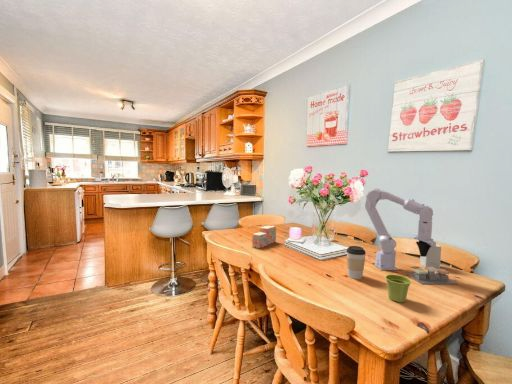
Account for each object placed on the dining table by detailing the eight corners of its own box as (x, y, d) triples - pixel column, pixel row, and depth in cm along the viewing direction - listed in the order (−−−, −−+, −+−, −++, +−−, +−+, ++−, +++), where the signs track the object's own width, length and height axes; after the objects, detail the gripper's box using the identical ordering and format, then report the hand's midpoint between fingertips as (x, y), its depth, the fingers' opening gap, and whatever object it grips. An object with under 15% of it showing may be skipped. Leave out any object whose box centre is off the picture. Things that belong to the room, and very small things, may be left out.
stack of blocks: (259, 248, 173) (259, 231, 172) (252, 247, 176) (252, 229, 175) (275, 242, 190) (276, 225, 189) (268, 240, 193) (269, 224, 193)
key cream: (429, 276, 124) (430, 269, 123) (424, 273, 127) (424, 266, 127) (437, 276, 124) (438, 269, 123) (432, 273, 128) (432, 266, 127)
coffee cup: (364, 274, 131) (365, 245, 130) (365, 281, 122) (366, 250, 121) (345, 271, 134) (346, 243, 132) (345, 278, 125) (346, 248, 124)
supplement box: (440, 269, 139) (441, 246, 138) (425, 268, 140) (426, 245, 139) (433, 264, 146) (435, 243, 145) (419, 263, 147) (420, 242, 146)
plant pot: (379, 294, 109) (380, 274, 109) (400, 293, 110) (401, 273, 110) (393, 305, 100) (394, 284, 99) (415, 304, 101) (416, 283, 100)
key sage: (418, 279, 123) (418, 272, 123) (413, 275, 127) (413, 269, 127) (426, 279, 124) (427, 272, 123) (421, 275, 128) (421, 269, 127)
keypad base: (421, 284, 120) (422, 279, 119) (406, 274, 131) (406, 269, 131) (457, 284, 120) (457, 279, 120) (438, 274, 132) (439, 269, 132)
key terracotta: (440, 279, 124) (441, 272, 123) (434, 275, 128) (435, 269, 127) (448, 279, 124) (449, 272, 124) (442, 275, 128) (443, 269, 128)
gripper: (443, 233, 122) (441, 261, 123) (423, 227, 136) (421, 251, 137) (428, 233, 122) (426, 261, 123) (410, 226, 136) (408, 251, 138)
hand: (423, 256), depth 130 cm, fingers closed
